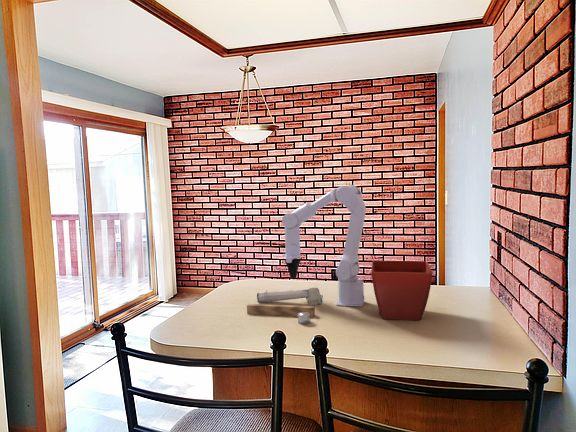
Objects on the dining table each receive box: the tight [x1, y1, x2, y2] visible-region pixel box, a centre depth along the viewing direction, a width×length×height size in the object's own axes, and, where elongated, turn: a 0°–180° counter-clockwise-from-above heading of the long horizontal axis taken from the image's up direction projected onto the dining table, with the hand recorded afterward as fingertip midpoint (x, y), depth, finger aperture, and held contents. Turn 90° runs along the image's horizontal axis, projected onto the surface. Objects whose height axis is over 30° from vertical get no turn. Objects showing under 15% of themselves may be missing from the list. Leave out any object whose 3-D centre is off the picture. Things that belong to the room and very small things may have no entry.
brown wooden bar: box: [246, 303, 316, 317], centre depth 160 cm, size 24×2×3 cm, turn 76°
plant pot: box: [370, 260, 434, 321], centre depth 155 cm, size 19×19×17 cm
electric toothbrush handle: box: [256, 287, 324, 306], centre depth 174 cm, size 5×7×25 cm
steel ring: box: [297, 312, 311, 325], centre depth 150 cm, size 4×4×3 cm
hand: (293, 277), depth 180 cm, fingers closed
